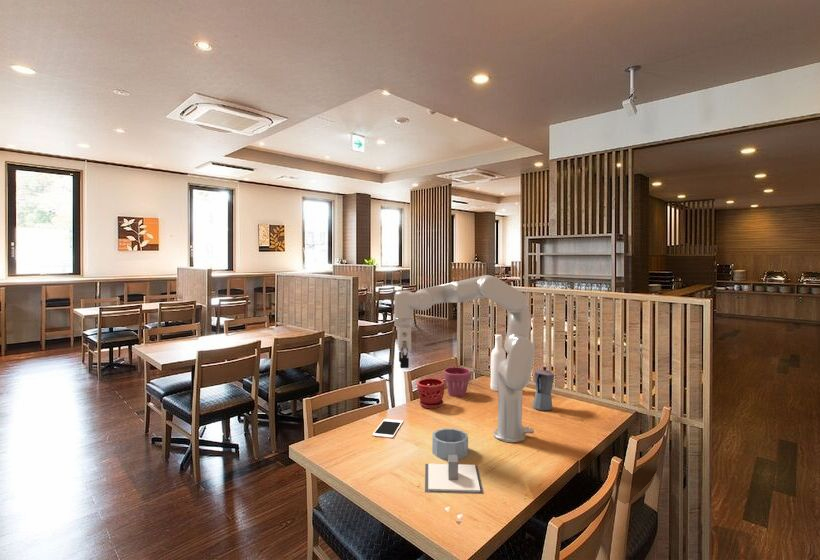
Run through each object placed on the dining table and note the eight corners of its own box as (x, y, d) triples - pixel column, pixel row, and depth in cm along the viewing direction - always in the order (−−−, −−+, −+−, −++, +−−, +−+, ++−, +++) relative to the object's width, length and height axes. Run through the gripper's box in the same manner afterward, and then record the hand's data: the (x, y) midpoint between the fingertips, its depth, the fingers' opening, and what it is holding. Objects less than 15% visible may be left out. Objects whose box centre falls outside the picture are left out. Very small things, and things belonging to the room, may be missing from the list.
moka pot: (557, 405, 212) (558, 365, 211) (548, 415, 199) (549, 372, 198) (537, 402, 217) (538, 362, 216) (528, 411, 204) (529, 369, 203)
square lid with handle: (474, 466, 149) (475, 447, 148) (480, 492, 133) (480, 471, 133) (428, 465, 150) (428, 446, 149) (428, 490, 134) (428, 469, 133)
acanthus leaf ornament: (459, 527, 118) (459, 520, 118) (441, 515, 124) (441, 509, 124) (477, 516, 123) (477, 510, 123) (460, 505, 128) (460, 499, 128)
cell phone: (403, 422, 191) (403, 420, 191) (392, 439, 174) (392, 437, 174) (384, 420, 193) (384, 418, 193) (371, 437, 176) (371, 434, 175)
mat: (477, 467, 150) (477, 465, 150) (483, 497, 132) (483, 493, 132) (425, 466, 151) (425, 463, 151) (424, 495, 133) (424, 492, 133)
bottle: (488, 387, 241) (489, 333, 240) (502, 386, 242) (503, 333, 240) (492, 391, 233) (493, 336, 232) (506, 391, 234) (507, 336, 232)
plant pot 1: (426, 399, 221) (426, 376, 220) (449, 404, 213) (449, 380, 212) (411, 406, 210) (412, 382, 209) (434, 412, 202) (434, 387, 202)
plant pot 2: (462, 400, 219) (463, 375, 218) (438, 395, 227) (438, 371, 226) (474, 392, 231) (475, 369, 230) (451, 388, 239) (451, 365, 238)
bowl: (466, 446, 166) (466, 428, 166) (469, 462, 153) (469, 443, 153) (432, 445, 167) (432, 428, 167) (432, 461, 154) (432, 442, 154)
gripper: (415, 325, 163) (415, 370, 164) (411, 318, 180) (411, 359, 181) (395, 325, 163) (395, 370, 164) (393, 318, 180) (393, 359, 181)
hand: (403, 364), depth 173 cm, fingers open, 9 cm apart
